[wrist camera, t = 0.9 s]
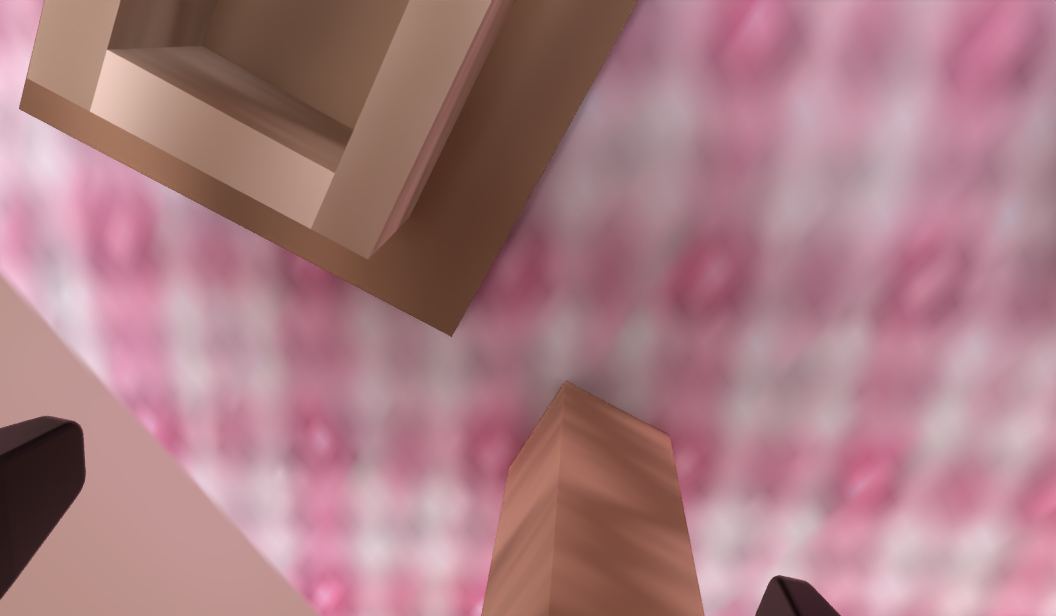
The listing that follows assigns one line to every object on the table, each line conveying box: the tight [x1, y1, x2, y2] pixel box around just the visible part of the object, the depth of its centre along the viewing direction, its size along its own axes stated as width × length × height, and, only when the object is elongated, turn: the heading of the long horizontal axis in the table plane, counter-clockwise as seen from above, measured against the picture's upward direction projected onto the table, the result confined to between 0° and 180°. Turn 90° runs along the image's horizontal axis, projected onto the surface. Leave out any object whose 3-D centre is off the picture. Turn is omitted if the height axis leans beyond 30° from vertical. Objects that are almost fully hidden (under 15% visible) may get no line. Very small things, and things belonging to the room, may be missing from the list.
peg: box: [481, 381, 705, 616], centre depth 19 cm, size 4×4×10 cm
